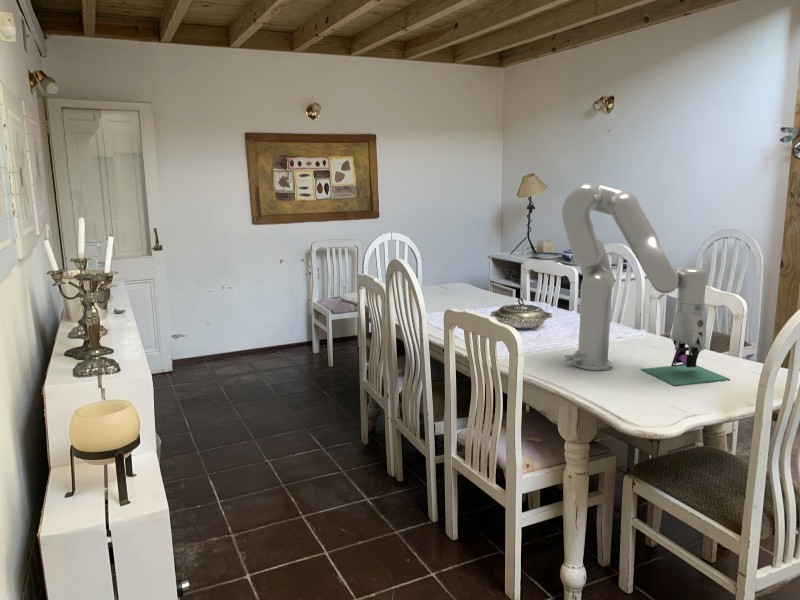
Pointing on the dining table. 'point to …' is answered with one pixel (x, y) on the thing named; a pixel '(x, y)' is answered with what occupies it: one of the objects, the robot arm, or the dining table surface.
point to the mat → (684, 375)
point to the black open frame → (683, 357)
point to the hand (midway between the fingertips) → (685, 364)
